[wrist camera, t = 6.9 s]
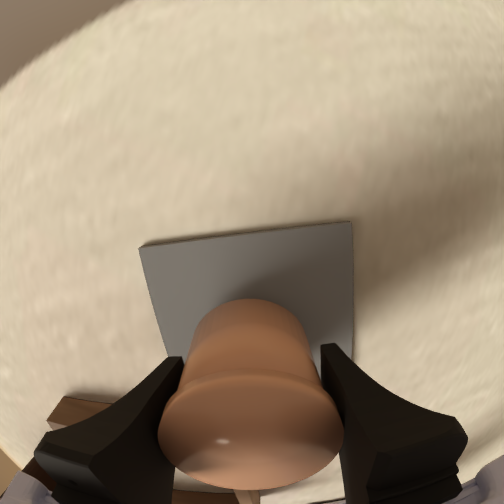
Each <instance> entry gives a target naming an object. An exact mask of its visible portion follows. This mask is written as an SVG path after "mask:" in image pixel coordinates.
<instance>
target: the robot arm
mask: <svg viewBox="0 0 504 504" xmlns="http://www.w3.org/2000/svg"><path fill="white" fill-rule="evenodd" d="M320 356H321V383H322V386H323V389H324V390H325V391H326V392H327V393H328V394H329V395H330V396H331V397H332V399H333V400H334V402H335V404H336V406H337V409H338V412H339V415H340V418H341V421H342V424H343V427H344V438H343V444H342V447H341V449H340V451H339V457H340V463H341V469H342V476H343V483H344V491H345V499H346V500H341V501H336V502H330V503H323V504H504V455H502V456H500V457H499V458H497V459H495V460H493V461H492V462H490V463H488V464H487V465H485V466H484V467H483V468H482V469H481V470H480V471H479V472H478V473H477V475H476V477H475V478H473V479H471V480H469V481H467V482H465V483H463V484H461V483H460V481H459V479H458V477H457V475H456V474H457V473H458V472H459V469H458V467H457V465H456V462H457V460H458V459H459V457H460V456H461V454H462V452H463V451H464V449H465V447H466V445H467V442H468V436H467V435H466V433H465V431H464V429H463V428H462V426H461V425H460V423H459V422H458V421H457V419H456V418H455V417H453V416H449V415H445V414H441V413H437V412H434V411H431V410H428V409H425V408H422V407H420V406H417V405H415V404H413V403H411V402H409V401H407V400H405V399H403V398H401V397H399V396H397V395H395V394H393V393H392V392H390V391H389V390H387V389H385V388H384V387H382V386H381V385H380V384H378V383H377V382H376V381H374V380H373V379H372V378H371V377H369V376H368V375H367V374H366V373H365V372H364V371H363V370H361V369H360V368H359V367H358V366H357V365H356V364H355V363H354V362H353V361H352V360H351V359H350V358H349V357H348V356H347V355H346V354H345V353H344V352H343V350H342V349H341V348H340V347H339V346H338V345H337V344H336V343H329V344H322V345H320ZM183 368H184V361H183V358H182V356H169V357H168V358H166V359H165V360H164V361H163V362H162V363H161V364H160V365H159V366H158V367H157V368H156V369H155V370H154V371H153V372H151V373H150V374H149V375H148V376H147V377H146V378H145V379H144V380H143V381H142V382H141V383H139V384H138V385H137V386H136V387H135V388H133V389H132V390H131V391H130V392H129V393H127V394H126V395H125V396H124V397H122V398H121V399H120V400H118V401H117V402H115V403H114V404H112V405H111V406H109V407H108V408H106V409H104V410H102V411H100V412H99V413H97V414H95V415H93V416H91V417H89V418H87V419H85V420H83V421H80V422H78V423H75V424H73V425H70V426H67V427H64V428H61V429H57V430H54V431H50V432H46V434H45V435H44V437H43V438H42V440H41V441H40V443H39V444H38V446H37V448H36V449H35V451H34V457H35V459H36V461H37V462H38V464H39V465H40V466H41V467H42V468H43V469H44V470H45V471H46V473H47V474H48V475H49V476H50V477H51V478H52V479H53V480H54V481H55V482H56V483H57V484H56V486H55V488H54V490H53V492H52V491H49V490H48V489H47V488H46V487H45V486H44V485H43V484H42V483H41V482H40V481H38V480H37V479H35V478H34V477H32V476H30V475H28V474H26V473H24V472H22V471H18V472H17V473H16V475H15V476H14V478H13V480H12V482H11V483H10V485H9V486H8V488H7V490H6V492H5V493H4V495H3V497H2V498H1V500H0V504H172V490H173V481H174V473H175V466H174V465H173V464H172V463H171V462H170V461H169V460H168V459H167V458H166V456H165V455H164V454H163V452H162V450H161V448H160V445H159V442H158V428H159V425H160V421H161V418H162V415H163V411H164V409H165V406H166V404H167V402H168V401H169V399H170V398H171V396H172V395H173V394H174V393H175V392H176V391H177V389H178V386H179V382H180V379H181V375H182V372H183Z"/></svg>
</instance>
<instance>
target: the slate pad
mask: <svg viewBox="0 0 504 504" xmlns="http://www.w3.org/2000/svg"><path fill="white" fill-rule="evenodd" d="M138 249H139V254H140V258H141V262H142V266H143V270H144V274H145V278H146V282H147V286H148V290H149V294H150V297H151V301H152V305H153V308H154V312H155V315H156V319H157V322H158V325H159V329H160V332H161V335H162V339H163V342H164V345H165V348H166V351H167V354H168V357H169V356H182V358H183V361H184V365H185V361H186V358H187V354H188V351H189V348H190V344H191V341H192V338H193V334H194V331H195V329H196V327H197V325H198V324H199V322H200V321H201V320H202V318H203V317H204V316H205V315H206V314H207V313H209V312H210V311H211V310H213V309H214V308H216V307H218V306H220V305H222V304H224V303H227V302H230V301H234V300H239V299H260V300H266V301H270V302H273V303H275V304H278V305H280V306H282V307H284V308H285V309H287V310H288V311H290V312H291V313H292V314H293V315H294V316H295V317H296V318H297V319H298V320H299V322H300V323H301V325H302V326H303V328H304V331H305V334H306V336H307V340H308V343H309V346H310V349H311V352H312V355H313V358H314V361H315V364H316V367H317V371H318V374H319V377H320V380H321V356H320V345H322V344H329V343H336V344H337V345H338V346H339V347H340V348H341V349H342V350H343V352H344V353H345V354H346V355H347V356H348V357H349V358H350V359H351V356H352V336H353V238H352V223H351V222H350V221H347V222H337V223H328V224H318V225H309V226H300V227H291V228H282V229H274V230H265V231H256V232H248V233H240V234H232V235H223V236H215V237H208V238H200V239H192V240H184V241H177V242H169V243H162V244H154V245H147V246H141V247H140V248H138Z"/></svg>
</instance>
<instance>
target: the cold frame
mask: <svg viewBox="0 0 504 504" xmlns="http://www.w3.org/2000/svg"><path fill="white" fill-rule="evenodd" d="M111 405H112V404H106V403H99V402H92V401H85V400H79V399H73V398H67V397H63V398H62V399H61V401H60V402H59V403H58V405H57V406H56V408H55V409H54V410H53V412H52V413H51V415H50V416H49V417H48V419H47V420H46V421H47V422H48V424H49V425H50V426H51V428H52V429H53V431H54V430H57V429H61V428H64V427H67V426H70V425H73V424H75V423H78V422H80V421H83V420H85V419H87V418H89V417H91V416H93V415H95V414H97V413H99V412H100V411H102V410H104V409H106V408H108V407H109V406H111ZM233 490H234V492H235V494H230V493H204V492H191V491H180V490H172V504H260V494H259V491H258V490H239V489H233Z"/></svg>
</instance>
